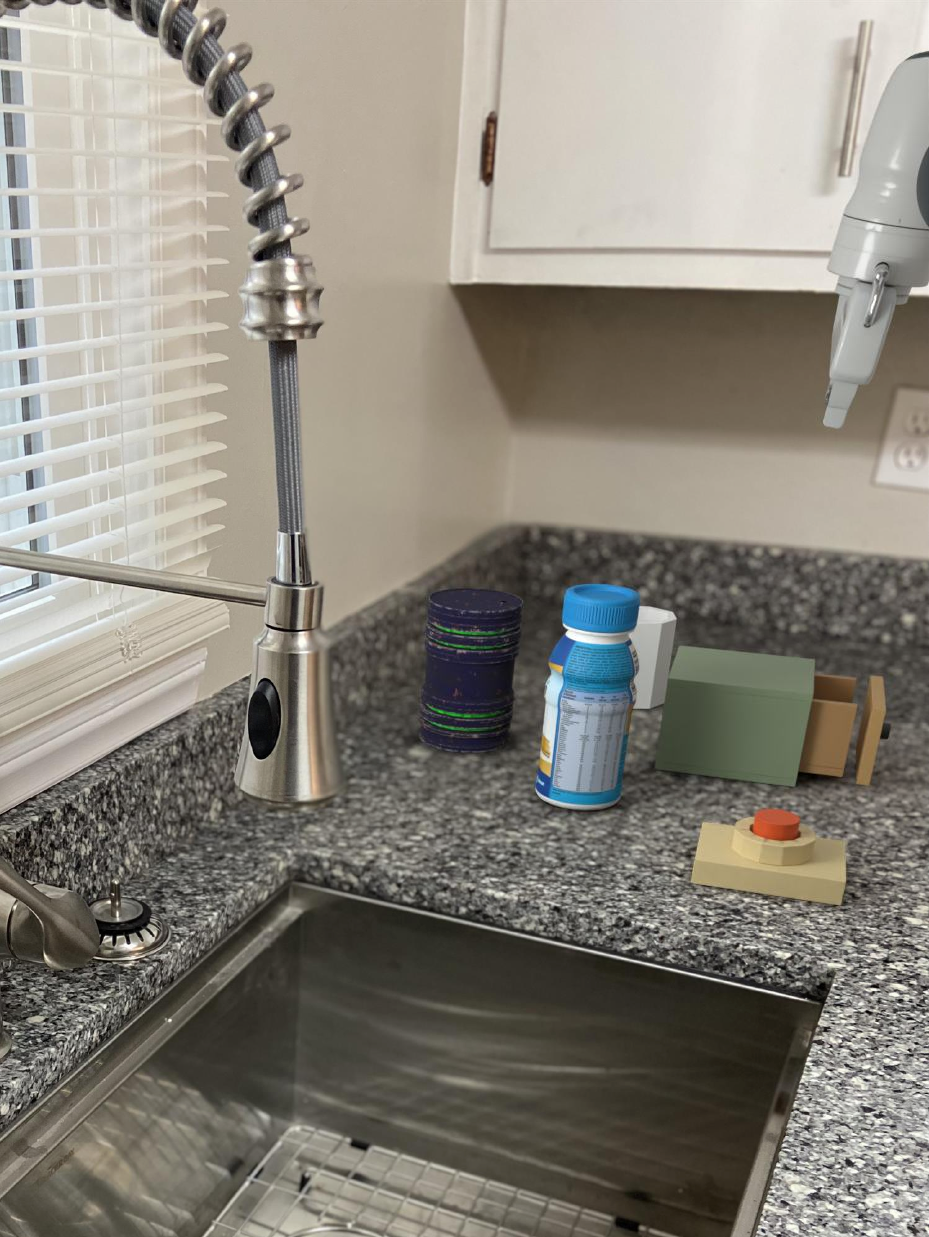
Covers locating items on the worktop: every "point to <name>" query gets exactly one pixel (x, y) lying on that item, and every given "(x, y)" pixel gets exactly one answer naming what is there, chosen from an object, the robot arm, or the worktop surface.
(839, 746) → the drawer
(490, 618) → the storage jar
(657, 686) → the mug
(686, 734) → the cabinet
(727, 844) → the control block
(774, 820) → the button
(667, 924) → the worktop surface
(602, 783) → the beverage bottle
